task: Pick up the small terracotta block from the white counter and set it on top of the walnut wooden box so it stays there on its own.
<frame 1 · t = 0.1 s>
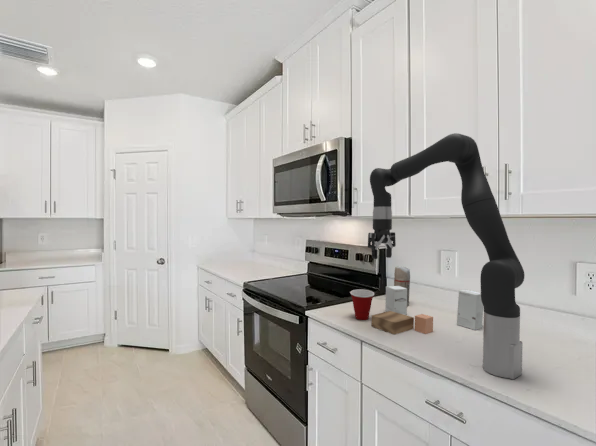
hand: (381, 258, 134), 29 cm above the worktop, tool pointing down, fingers open, 8 cm apart
walnut box: (392, 328, 138), on the worktop
supplement box: (396, 314, 158), on the worktop
spray can: (401, 305, 175), on the worktop
terracotta block: (423, 331, 134), on the worktop
skincare box: (470, 327, 140), on the worktop
plastic cup: (362, 318, 150), on the worktop
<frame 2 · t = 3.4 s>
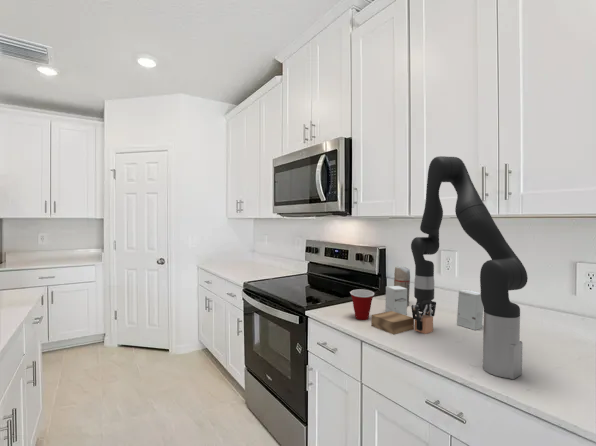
hand: (423, 328, 134), 1 cm above the worktop, tool pointing down, fingers closed on terracotta block, 5 cm apart
terracotta block: (423, 331, 134), on the worktop, touching gripper
everything else where it was.
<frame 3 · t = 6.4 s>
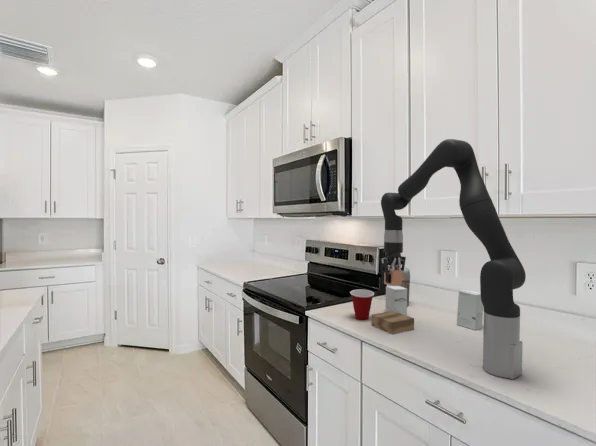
hand: (392, 281, 137), 19 cm above the worktop, tool pointing down, fingers closed on terracotta block, 5 cm apart
terracotta block: (392, 284, 137), point 18 cm above the worktop, touching gripper
everything else where it was.
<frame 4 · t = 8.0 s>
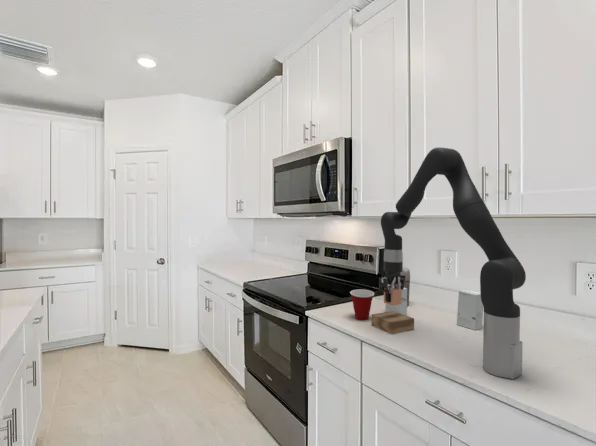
hand: (392, 301, 138), 11 cm above the worktop, tool pointing down, fingers closed on terracotta block, 5 cm apart
terracotta block: (392, 303, 138), point 10 cm above the worktop, touching gripper
everything else where it was.
when the fingers open (7 cm above the worktop, at t = 9.4 s): terracotta block drops 2 cm, resting on walnut box.
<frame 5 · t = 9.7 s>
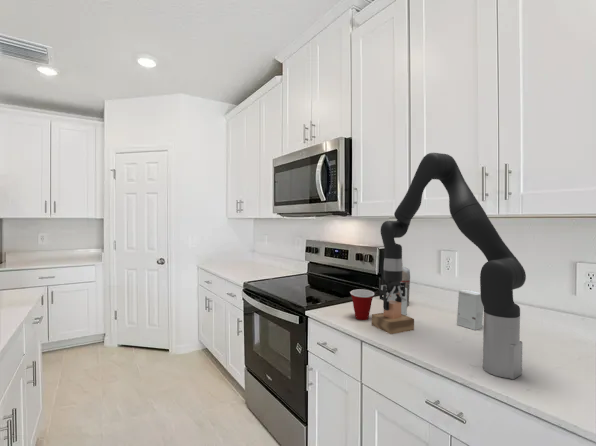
hand: (392, 308, 138), 8 cm above the worktop, tool pointing down, fingers open, 7 cm apart
walnut box: (392, 328, 138), on the worktop, touching terracotta block
terracotta block: (392, 316, 138), point 5 cm above the worktop, touching walnut box
everything else where it was.
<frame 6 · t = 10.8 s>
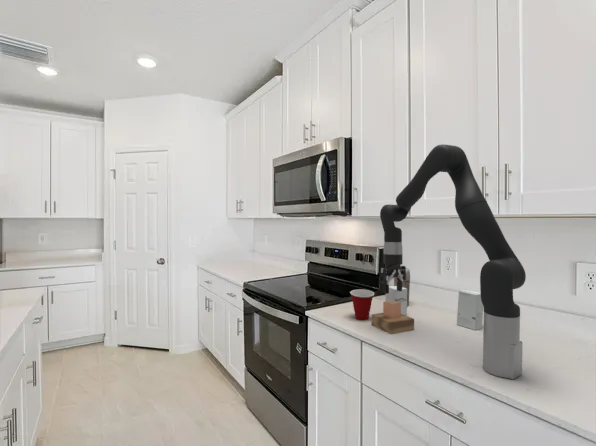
hand: (392, 292, 137), 15 cm above the worktop, tool pointing down, fingers open, 8 cm apart
nothing on the worktop moved.
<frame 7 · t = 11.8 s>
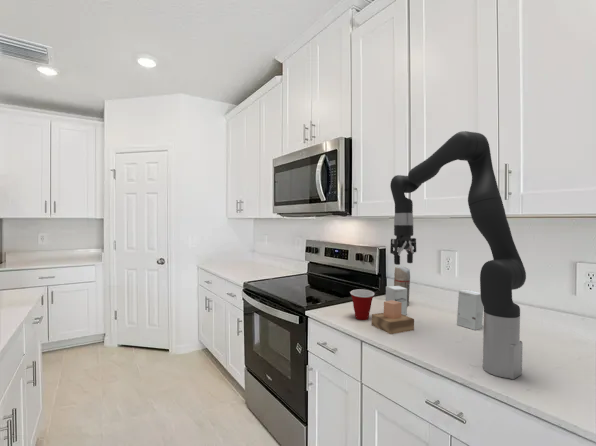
hand: (403, 263, 136), 27 cm above the worktop, tool pointing down, fingers open, 8 cm apart
nothing on the worktop moved.
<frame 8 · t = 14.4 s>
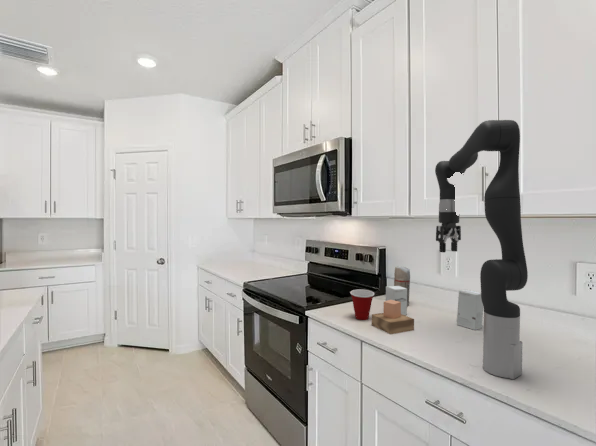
hand: (448, 251, 133), 32 cm above the worktop, tool pointing down, fingers open, 8 cm apart
walnut box: (392, 328, 138), on the worktop
terracotta block: (392, 316, 138), point 5 cm above the worktop
everything else where it was.
at the end: terracotta block inside the target area on the walnut box (0.4 cm from its centre), point 5.0 cm above the walnut box's base; terracotta block touching walnut box; terracotta block tilted 0° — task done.
